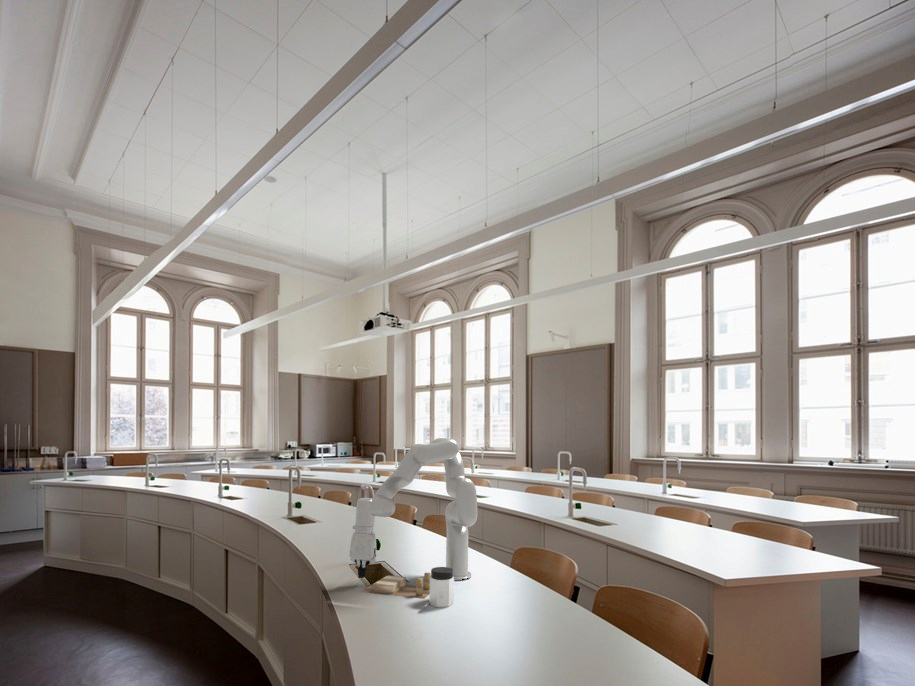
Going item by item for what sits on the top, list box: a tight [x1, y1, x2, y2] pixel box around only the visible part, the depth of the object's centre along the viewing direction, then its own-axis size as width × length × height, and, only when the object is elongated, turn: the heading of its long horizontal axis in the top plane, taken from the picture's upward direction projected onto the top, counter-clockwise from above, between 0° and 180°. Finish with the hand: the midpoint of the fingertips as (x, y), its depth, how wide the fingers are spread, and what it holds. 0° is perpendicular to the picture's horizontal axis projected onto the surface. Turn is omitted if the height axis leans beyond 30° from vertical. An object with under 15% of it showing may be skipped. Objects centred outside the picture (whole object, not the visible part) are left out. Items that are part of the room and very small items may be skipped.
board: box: [361, 572, 431, 600], centre depth 215 cm, size 14×26×7 cm, turn 72°
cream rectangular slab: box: [373, 575, 407, 595], centre depth 216 cm, size 12×8×3 cm, turn 162°
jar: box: [428, 566, 455, 608], centre depth 202 cm, size 9×8×12 cm
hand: (361, 577), depth 220 cm, fingers closed
